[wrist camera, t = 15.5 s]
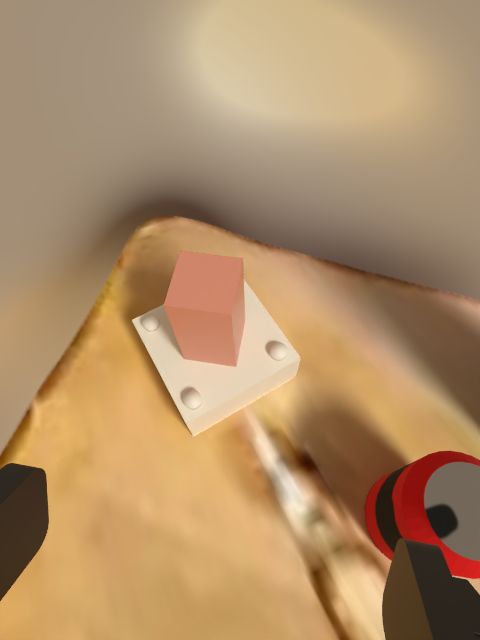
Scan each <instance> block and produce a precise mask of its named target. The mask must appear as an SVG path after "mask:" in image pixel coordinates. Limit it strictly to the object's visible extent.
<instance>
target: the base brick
mask: <svg viewBox="0 0 480 640" xmlns="http://www.w3.org/2000/svg"><path fill="white" fill-rule="evenodd" d="M244 298H245V325H244V330H243V335H242V341H241V346H240V351H239V356H238V362H237V367H233V366H226V365H219V364H213V363H206V362H199V361H193V360H186V359H184V357H183V355H182V352H181V350H180V347H179V344H178V342H177V339H176V337H175V334H174V331H173V329H172V326H171V324H170V321H169V318H168V316H167V313H166V310H165V308H164V304H163V305H161V306H159V307H157V308H155V309H153V310H151V311H149V312H147V313H145V314H143V315H141V316H139V317H137V318H135V319H133V320H132V322H133V324H134V326H135V327H136V329H137V331H138V333H139V335H140V337H141V339H142V341H143V343H144V345H145V347H146V348H147V350H148V352H149V354H150V356H151V358H152V360H153V362H154V364H155V366H156V368H157V370H158V371H159V373H160V375H161V377H162V379H163V381H164V383H165V385H166V387H167V389H168V391H169V392H170V394H171V396H172V398H173V400H174V402H175V404H176V406H177V408H178V410H179V412H180V413H181V415H182V417H183V419H184V421H185V423H186V425H187V427H188V428H189V430H190V432H191V433H192V435H193V437H194V436H196V435H197V434H199V433H201V432H202V431H204V430H206V429H208V428H209V427H211V426H213V425H214V424H216V423H218V422H220V421H221V420H223V419H225V418H226V417H228V416H230V415H232V414H233V413H235V412H237V411H238V410H240V409H242V408H243V407H245V406H247V405H249V404H250V403H252V402H254V401H255V400H257V399H259V398H261V397H262V396H264V395H266V394H267V393H269V392H271V391H273V390H274V389H276V388H278V387H279V386H281V385H283V384H285V383H286V382H288V381H290V380H291V379H293V378H295V377H296V374H297V370H298V366H299V362H300V356H299V355H298V354H297V352H296V351H295V350H294V348H293V347H292V345H291V344H290V343H289V341H288V340H287V338H286V337H285V336H284V334H283V333H282V331H281V330H280V329H279V327H278V326H277V324H276V323H275V322H274V320H273V319H272V317H271V316H270V315H269V313H268V312H267V311H266V309H265V308H264V306H263V305H262V304H261V302H260V301H259V299H258V298H257V297H256V295H255V294H254V292H253V291H252V290H251V288H250V287H249V285H248V284H247V283H246V281H245V280H244Z"/></svg>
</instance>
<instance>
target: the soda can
mask: <svg viewBox="0 0 480 640" xmlns="http://www.w3.org/2000/svg"><path fill="white" fill-rule="evenodd" d="M365 519H366V524H367V528H368V531H369V533H370V536H371V538H372V539H373V541H374V543H375V544H376V546H377V547H378V548H379V550H380V551H381V552H382V553H383V554H384V555H385V556H386V557H388V558H389V559H390V560H392V559H393V555H394V551H395V548H396V544H397V542H398V540H399V539H400V538H402V539H407V540H412V541H417V542H423V543H428V544H433V545H437V546H439V547H440V548H441V550H442V552H443V554H444V557H445V559H446V562H447V565H448V567H449V570H450V572H451V575H454V576H460V577H466V578H472V579H477V578H480V460H478V459H476V458H474V457H473V456H470V455H467V454H464V453H461V452H454V451H439V452H436V453H432V454H429V455H427V456H425V457H423V458H421V459H419V460H417V461H415V462H413V463H411V464H409V465H407V466H405V467H403V468H401V469H399V470H397V471H395V472H393V473H391V474H389V475H387V476H385V477H383V478H381V479H380V480H379V481H378V482H376V483H375V484H374V486H373V487H372V489H371V490H370V492H369V494H368V497H367V500H366V505H365Z"/></svg>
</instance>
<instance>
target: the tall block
mask: <svg viewBox="0 0 480 640" xmlns="http://www.w3.org/2000/svg"><path fill="white" fill-rule="evenodd" d="M164 308H165V310H166V313H167V316H168V318H169V321H170V324H171V326H172V329H173V331H174V334H175V337H176V339H177V342H178V344H179V347H180V350H181V352H182V355H183V357H184V359H186V360H193V361H199V362H206V363H213V364H219V365H226V366H233V367H237V362H238V356H239V351H240V346H241V341H242V335H243V330H244V325H245V298H244V273H243V258H235V257H227V256H218V255H210V254H202V253H194V252H185V251H180V252H179V256H178V259H177V262H176V266H175V269H174V272H173V276H172V279H171V282H170V286H169V289H168V292H167V295H166V299H165V302H164Z"/></svg>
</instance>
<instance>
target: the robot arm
mask: <svg viewBox="0 0 480 640" xmlns="http://www.w3.org/2000/svg"><path fill="white" fill-rule="evenodd" d="M48 524H49V516H48V498H47V481H46V473H45V471H44V470H43V469H41V468H36V467H31V466H25V465H20V464H15V463H10V464H7V465H5V466H4V467H3V468H2V469H0V601H1V600H2V598H3V597H4V596H5V594H6V593H7V592H8V590H9V589H10V588H11V586H12V585H13V584H14V582H15V581H16V580H17V578H18V577H19V576H20V574H21V573H22V572H23V570H24V569H25V568H26V566H27V565H28V564H29V562H30V561H31V560H32V558H33V557H34V556H35V554H36V553H37V552H38V550H39V549H40V547H41V545H42V543H43V541H44V539H45V536H46V533H47V530H48ZM382 617H383V627H384V633H385V638H386V640H480V595H479V594H478V592H477V591H476V590H475V589H474V587H473V586H472V585H471V584H470V583H469V581H468V580H465V579H460V578H455V577H452V575H451V572H450V570H449V567H448V565H447V562H446V559H445V557H444V554H443V552H442V550H441V548H440V547H439V546H437V545H433V544H428V543H423V542H417V541H412V540H407V539H402V538H400V539H399V540H398V542H397V544H396V548H395V551H394V555H393V559H392V563H391V566H390V570H389V574H388V578H387V581H386V585H385V589H384V593H383V603H382Z"/></svg>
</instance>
